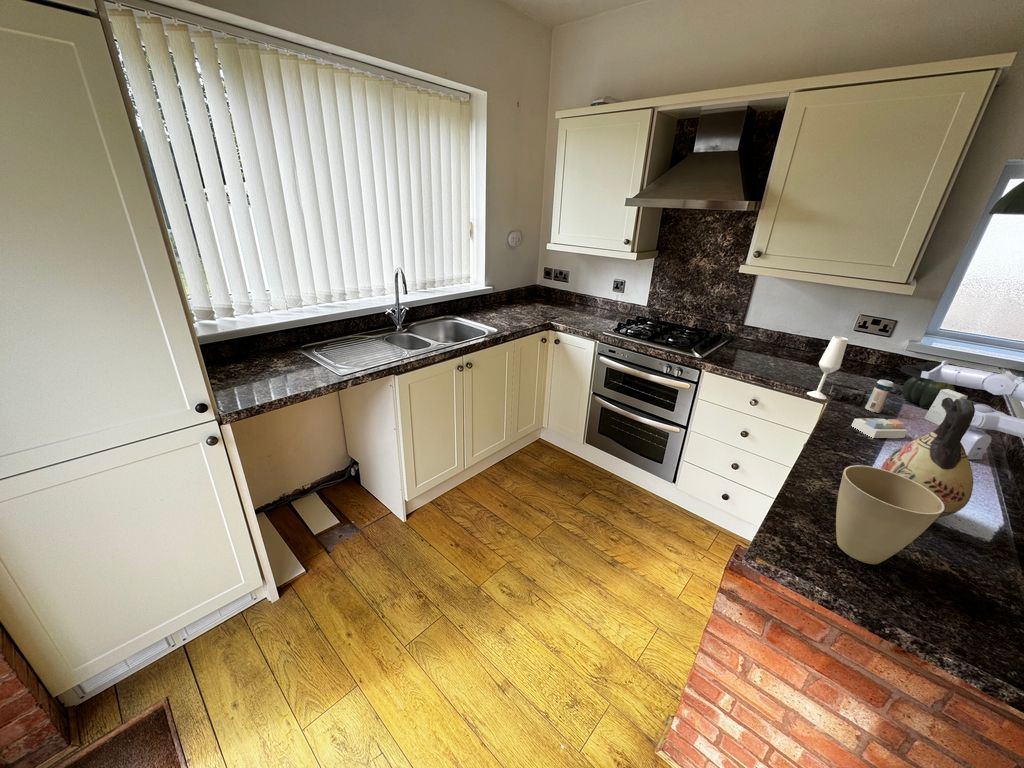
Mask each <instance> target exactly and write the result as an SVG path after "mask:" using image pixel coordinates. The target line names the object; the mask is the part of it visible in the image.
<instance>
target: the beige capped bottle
mask: <svg viewBox="0 0 1024 768" xmlns="http://www.w3.org/2000/svg"><path fill="white" fill-rule="evenodd" d="M893 388H894V382H892V381H890V380H887V379H883V378H882V379H879V380H878V381H876V384H875V386H874V388H873V390H872V392H871V394H870V396H869V399H868V400H867V403H866V404H865V406H864V409H866V411H868V410H869V411H868V412H870V411H871V412H870V413H874V412H876V414H878V413H879V414H881V412H882V410H883V408H884V405H885V404H886V402H887V399H888V398H889V395H890V394H891V391H892V390H893Z"/></svg>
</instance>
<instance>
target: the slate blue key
mask: <svg viewBox="0 0 1024 768" xmlns="http://www.w3.org/2000/svg"><path fill="white" fill-rule="evenodd" d="M865 424H866V425H868V426H870V427H872V428H874V429H882V427H883V425H884V423H882V422H880V421H878V420H876V419H867V421H866V423H865Z"/></svg>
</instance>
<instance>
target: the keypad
mask: <svg viewBox="0 0 1024 768" xmlns="http://www.w3.org/2000/svg"><path fill="white" fill-rule="evenodd" d="M867 419H876V420H878V419H880V418H876V417H875V418H873V417H872V418H865V417H863V418H854V419H853V421H852V423H851V425H850V427H851V426H852V428H853V427H854V428H853V429H855V428H856V429H855V430H857V429H858V430H859V432H860V431H861V432H860V433H862V432H863V433H862V434H864V435H865V434H866V435H865V436H867V435H868V436H867V437H869V436H870V437H869V438H871V437H872V438H871V439H873V438H904V439H905V437H906V435H907V433H908V431H909V430H907V429H906V428H903V427H902V429H894V428H892V429H884V428H882V429H874V428H872V427H870V426H868V425H866V424H865V423H866V421H867ZM858 430H857V431H858Z"/></svg>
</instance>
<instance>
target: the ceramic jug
mask: <svg viewBox="0 0 1024 768" xmlns="http://www.w3.org/2000/svg"><path fill="white" fill-rule="evenodd" d="M974 405H975V404H974V402H973V401H971V400H969V399H968V398H967V399H956V400H955V401H954V402H953V400H952V399H951V398H949V397H948V398H945V399H943V400H942V404H941V406H942V407H943V408H944V409H945V411H946V416H945V418H944V420H943V422H942V423H941V424H940V425H938V427H937V428H936V429H935V430H932V431H931V432H929V433H927V434H925V435H923V436H920V437H918V438H916V439H914V440H912V441H910V442H908V443H907V444H904V445H902V446H901V447H900V448H898V449H896V450H894V452H893V453H891V454H890V455H889V456H888V457H887V458H886V459H885V460H884V462H883V464H882V465H881V466H880V467H879V469H883V470H887V471H890V472H893V473H895V474H898V475H901V476H903V477H906V478H908V479H910V480H912V481H914V482H916V483H918V484H920V485H922V486H923V487H925V488H927V489H928V490H930V491H931V492H933V493H934V494H935V495H936V496H937V497H938V498H939V499H940V500H941V501H942V502H943V504H944V507H945V509H944V511H943V512H942V513H941V514H940V515H939V516H938V518H942V517H943V518H944V517H947V516H951V515H954V514H956V513H958V512H959V511H962V509H964V508H965V507H966V506H967V505H968V503H969V502H970V500H971V497H972V494H973V488H974V476H973V474H974V473H973V470H972V467H971V462H970V461H969V460H970V459H968V456H967V455H966V453H965V449H964V447H963V445H962V444H961V442H960V441H961V439H962V437H963V436H964V434H965V433H966V431H967V429H968V428H969V427H970V424H971V422H972V420H973V417H974V413H975V408H974ZM938 518H937V519H936V520H935V521H934V522H933V523H935V522H936V521H937V520H938Z"/></svg>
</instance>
